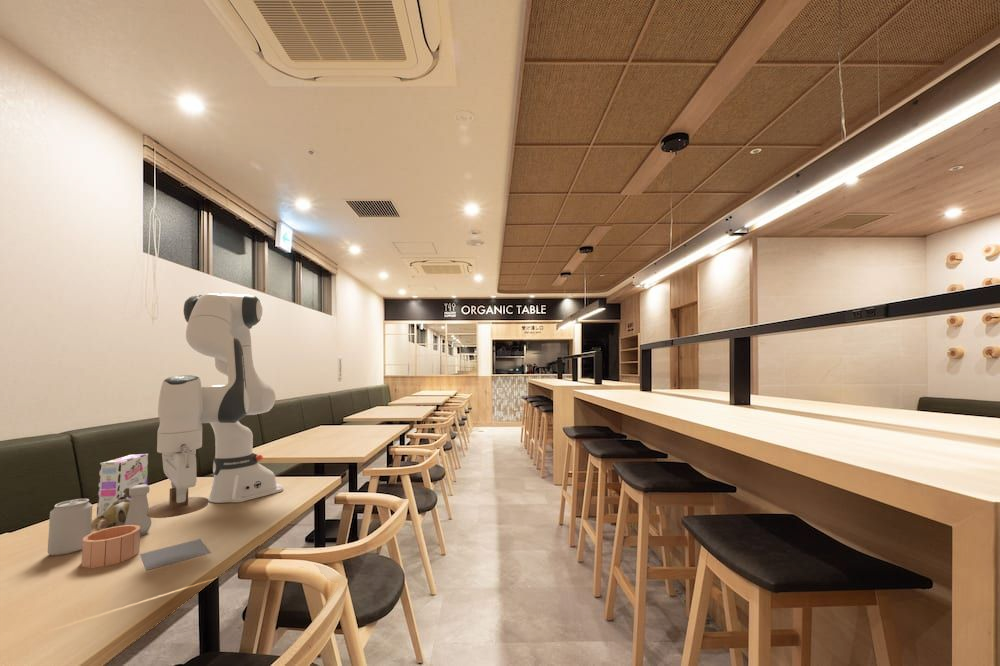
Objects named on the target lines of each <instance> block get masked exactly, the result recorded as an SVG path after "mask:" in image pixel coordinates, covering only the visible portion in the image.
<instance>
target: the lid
mask: <svg viewBox="0 0 1000 666" xmlns="http://www.w3.org/2000/svg"><path fill="white" fill-rule="evenodd" d="M208 499H209V498H207V497H203V496H192V497H190V496H189V488H187V492H186V500H185V502H181V503H177V502H176V488H172V487H171V488H169V500H166V501H163V502H160V503H158V504H155V505H152V506H150V507H149V509H148V510H147V516H148V517H150V518H151V519H152V518H153V519H165V518H172V517H173V518H175V517H179V516H184V515H187V514H191V513H195V512H197V511H200V510H203V509H204V508H206V507H208V506H209V501H208Z"/></svg>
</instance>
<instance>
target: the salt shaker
mask: <svg viewBox="0 0 1000 666" xmlns="http://www.w3.org/2000/svg"><path fill="white" fill-rule="evenodd" d="M149 493H150V486H149V484H147V485H146V484H142V485H136V486H133V487H131V488H130V490H129V495H130V496H132V498H131V502H130V506H129V510H128V514H127V517H126V521H125V525H139V526H140V537H141V536H144V535H146V534H148V533H149V531H150V528H151V526H152V518H151V517H148V516H147V510H148V509H149V508H150V507H149V501H148V495H147V494H149Z"/></svg>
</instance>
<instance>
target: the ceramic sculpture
mask: <svg viewBox="0 0 1000 666" xmlns="http://www.w3.org/2000/svg"><path fill="white" fill-rule="evenodd" d="M130 502H131V500H130V499H129V498H127V497H122V496H119V497H118V498H117V499H116V500H114V501H113V502H112V503H111V504H110V505H109V506H108V507H107V509H106V510H105V511H104V513H103V516H104V517H102V519H100V520H98V521H97V524H96V530H97V531H99V530H102V529H106V528H111V527H116V526H123V525H125V521H126V517H127V514H128V510H129V506H130Z"/></svg>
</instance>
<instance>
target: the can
mask: <svg viewBox="0 0 1000 666" xmlns="http://www.w3.org/2000/svg"><path fill="white" fill-rule="evenodd" d="M89 501H90V499H89V498H76V499H70V500H65V501H61V502H58V503H56V504H55V505H54V508H53V509H52V510H50V512H49V523H48V540H47V541H48V542H47V554H49V555H51V556H52V557H55V556H64V555H69V554H72V553H73V554H74V553H76V552H79V551H82V543H83V537H85V536H87V535H88V534H90V533H92V524H93V523H92V522H93V521H92V520H93V519H92V518H93V504H92V503H91V502H89Z"/></svg>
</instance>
